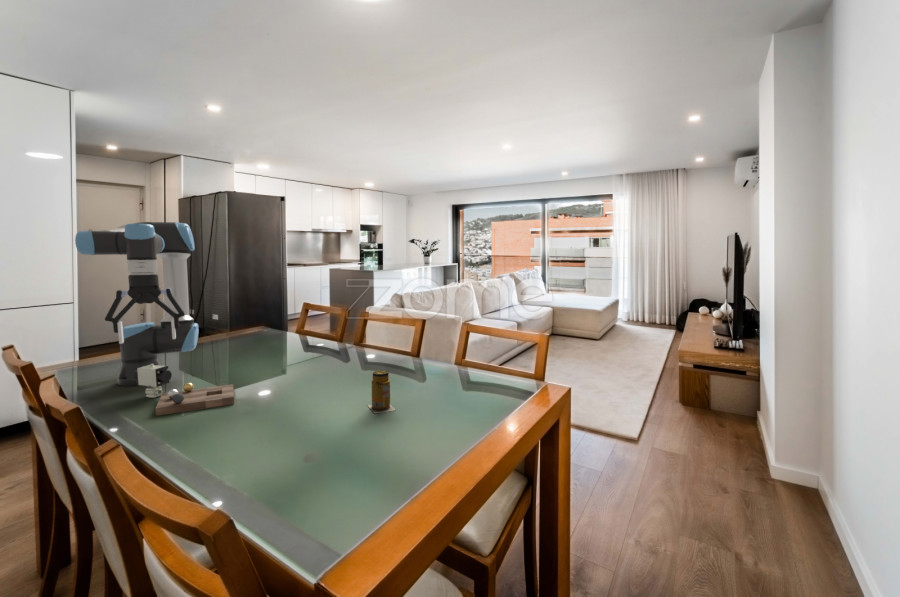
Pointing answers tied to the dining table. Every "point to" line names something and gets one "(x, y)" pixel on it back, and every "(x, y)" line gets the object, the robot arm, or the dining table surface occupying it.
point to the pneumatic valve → (152, 378)
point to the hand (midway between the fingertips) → (148, 340)
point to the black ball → (178, 398)
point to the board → (197, 400)
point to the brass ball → (188, 387)
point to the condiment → (381, 392)
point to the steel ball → (172, 393)
